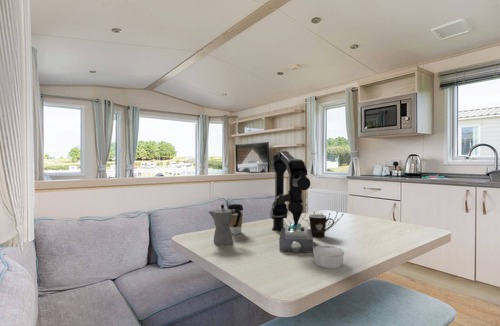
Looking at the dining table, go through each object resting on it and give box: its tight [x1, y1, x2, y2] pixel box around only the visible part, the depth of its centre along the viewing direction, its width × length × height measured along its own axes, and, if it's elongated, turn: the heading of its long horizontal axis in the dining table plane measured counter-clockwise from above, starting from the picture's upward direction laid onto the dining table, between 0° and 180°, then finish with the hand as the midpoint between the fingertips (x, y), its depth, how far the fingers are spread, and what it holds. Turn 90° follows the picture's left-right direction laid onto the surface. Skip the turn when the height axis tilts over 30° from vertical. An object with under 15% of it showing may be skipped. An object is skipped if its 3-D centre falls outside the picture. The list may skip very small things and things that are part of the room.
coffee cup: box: [227, 203, 244, 235], centre depth 144 cm, size 8×8×15 cm
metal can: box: [289, 223, 302, 231], centre depth 122 cm, size 5×5×8 cm
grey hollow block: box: [278, 225, 314, 253], centre depth 121 cm, size 18×14×7 cm
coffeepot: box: [208, 204, 241, 246], centre depth 128 cm, size 15×9×18 cm, turn 92°
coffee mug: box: [308, 213, 335, 239], centre depth 135 cm, size 12×9×10 cm
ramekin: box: [312, 244, 345, 269], centre depth 101 cm, size 11×11×5 cm
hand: (295, 222), depth 122 cm, fingers open, 7 cm apart
